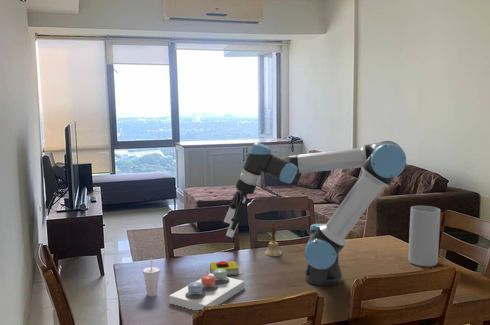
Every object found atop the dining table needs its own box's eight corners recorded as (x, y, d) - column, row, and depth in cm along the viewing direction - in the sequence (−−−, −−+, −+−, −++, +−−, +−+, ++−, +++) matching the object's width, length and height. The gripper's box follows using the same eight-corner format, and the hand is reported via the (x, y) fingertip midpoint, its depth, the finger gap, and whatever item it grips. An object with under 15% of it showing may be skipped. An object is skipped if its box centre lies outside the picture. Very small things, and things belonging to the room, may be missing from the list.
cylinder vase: (402, 262, 216) (405, 208, 213) (416, 256, 225) (419, 204, 222) (429, 269, 207) (431, 213, 204) (442, 262, 215) (445, 209, 212)
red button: (217, 282, 179) (217, 276, 178) (209, 287, 174) (209, 281, 174) (206, 279, 181) (206, 274, 181) (198, 284, 177) (198, 278, 177)
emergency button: (206, 259, 207) (240, 258, 210) (206, 269, 208) (240, 267, 210) (208, 267, 198) (244, 265, 201) (208, 277, 199) (243, 275, 201)
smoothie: (161, 290, 183) (160, 255, 181) (159, 297, 177) (158, 261, 175) (144, 291, 183) (144, 255, 181) (141, 297, 176) (140, 261, 175)
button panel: (244, 288, 185) (244, 280, 185) (205, 313, 163) (205, 304, 163) (210, 280, 194) (210, 272, 193) (169, 303, 171) (169, 294, 171)
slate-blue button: (205, 289, 172) (205, 283, 172) (196, 294, 167) (196, 288, 167) (194, 286, 175) (193, 281, 174) (185, 291, 170) (185, 285, 170)
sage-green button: (229, 275, 186) (229, 270, 185) (222, 280, 181) (221, 274, 181) (218, 273, 188) (218, 268, 188) (210, 277, 184) (210, 272, 183)
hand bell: (262, 252, 231) (262, 220, 229) (278, 250, 233) (278, 218, 231) (268, 257, 223) (268, 224, 221) (284, 255, 225) (285, 222, 223)
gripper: (236, 169, 195) (217, 214, 200) (241, 188, 171) (220, 239, 176) (253, 175, 197) (234, 220, 201) (260, 195, 173) (239, 245, 177)
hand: (228, 229), depth 189 cm, fingers open, 13 cm apart
